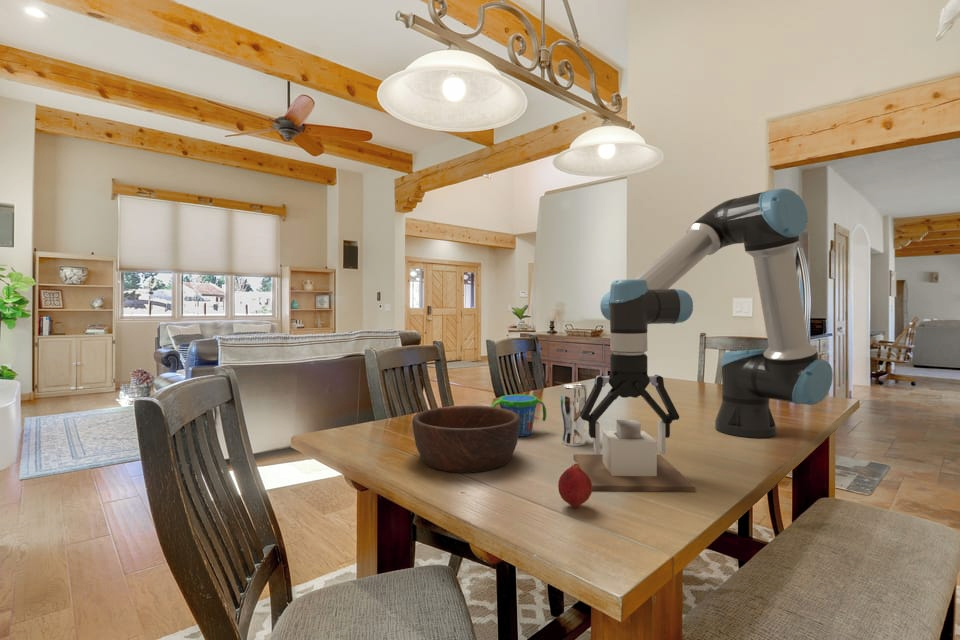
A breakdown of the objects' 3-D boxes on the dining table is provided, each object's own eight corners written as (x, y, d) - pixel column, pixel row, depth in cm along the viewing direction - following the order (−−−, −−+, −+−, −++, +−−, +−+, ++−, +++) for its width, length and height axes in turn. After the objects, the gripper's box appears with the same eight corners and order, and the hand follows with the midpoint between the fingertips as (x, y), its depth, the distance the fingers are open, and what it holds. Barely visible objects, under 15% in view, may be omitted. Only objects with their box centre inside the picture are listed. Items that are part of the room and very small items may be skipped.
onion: (570, 516, 82) (570, 469, 82) (552, 504, 88) (552, 460, 88) (598, 510, 85) (598, 465, 85) (579, 499, 90) (579, 456, 90)
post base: (660, 459, 113) (660, 411, 113) (694, 491, 93) (695, 434, 93) (573, 458, 114) (573, 411, 114) (589, 490, 94) (589, 433, 94)
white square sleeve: (643, 462, 108) (643, 430, 108) (656, 476, 99) (656, 441, 99) (602, 461, 108) (602, 430, 108) (611, 475, 99) (611, 441, 99)
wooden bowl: (468, 487, 96) (467, 435, 96) (390, 460, 113) (390, 416, 113) (541, 458, 115) (541, 414, 115) (465, 439, 132) (465, 401, 131)
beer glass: (585, 439, 130) (585, 383, 130) (589, 447, 123) (589, 387, 123) (559, 439, 131) (559, 383, 130) (561, 446, 124) (561, 387, 123)
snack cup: (490, 439, 131) (490, 401, 131) (490, 429, 142) (490, 394, 142) (548, 438, 131) (548, 401, 131) (544, 429, 142) (544, 394, 141)
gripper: (682, 350, 106) (682, 447, 107) (566, 351, 107) (567, 447, 108) (695, 354, 99) (695, 458, 99) (571, 355, 100) (572, 458, 100)
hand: (629, 452), depth 104 cm, fingers open, 13 cm apart
